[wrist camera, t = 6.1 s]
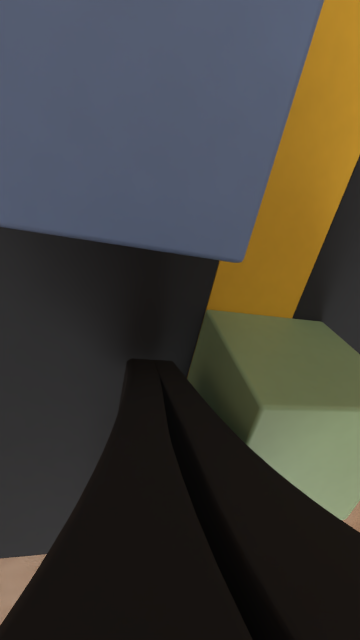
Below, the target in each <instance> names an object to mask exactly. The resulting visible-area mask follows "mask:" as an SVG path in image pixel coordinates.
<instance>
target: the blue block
mask: <svg viewBox="0 0 360 640" xmlns="http://www.w3.org/2000/svg"><path fill="white" fill-rule="evenodd" d="M323 3H324V0H0V227H4V228H10V229H17V230H23V231H30V232H37V233H43V234H50V235H56V236H63V237H69V238H76V239H82V240H89V241H95V242H102V243H109V244H115V245H122V246H128V247H135V248H141V249H148V250H154V251H161V252H167V253H174V254H181V255H187V256H194V257H200V258H207V259H213V260H220V261H226V262H233V263H239V262H242V261H243V259H244V257H245V254H246V250H247V247H248V244H249V241H250V238H251V234H252V231H253V228H254V225H255V222H256V218H257V215H258V212H259V209H260V205H261V202H262V199H263V196H264V193H265V189H266V186H267V183H268V180H269V176H270V173H271V170H272V167H273V164H274V160H275V157H276V154H277V151H278V147H279V144H280V141H281V138H282V135H283V131H284V128H285V125H286V122H287V119H288V115H289V112H290V109H291V106H292V102H293V99H294V96H295V93H296V90H297V86H298V83H299V80H300V77H301V73H302V70H303V67H304V64H305V61H306V57H307V54H308V51H309V48H310V44H311V41H312V38H313V35H314V32H315V28H316V25H317V22H318V19H319V15H320V12H321V9H322V6H323Z"/></svg>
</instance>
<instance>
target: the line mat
mask: <svg viewBox="0 0 360 640" xmlns="http://www.w3.org/2000/svg"><path fill="white" fill-rule="evenodd" d="M206 310H216V311H226V312H235V313H245V314H254V315H264V316H273V317H283V318H292V319H301V320H311V321H320V322H323V323H324V324H325V325H327V326H328V327H329V328H330V329H331V330H332V331H333V332H335V333H336V334H337V335H338V336H339V337H340V338H342V339H343V340H344V341H345V342H346V343H347V344H348V345H350V346H351V347H352V348H353V349H354V350H355V351H357V352H358V353H359V354H360V0H324V3H323V6H322V9H321V12H320V15H319V19H318V22H317V25H316V28H315V32H314V35H313V38H312V41H311V44H310V48H309V51H308V54H307V57H306V61H305V64H304V67H303V70H302V73H301V77H300V80H299V83H298V86H297V90H296V93H295V96H294V99H293V102H292V106H291V109H290V112H289V115H288V119H287V122H286V125H285V128H284V131H283V135H282V138H281V141H280V144H279V147H278V151H277V154H276V157H275V160H274V164H273V167H272V170H271V173H270V176H269V180H268V183H267V186H266V189H265V193H264V196H263V199H262V202H261V205H260V209H259V212H258V215H257V218H256V222H255V225H254V228H253V231H252V234H251V238H250V241H249V244H248V247H247V250H246V254H245V257H244V259H243V261H242V262H239V263H233V262H226V261H220V260H213V259H207V258H200V257H194V256H187V255H181V254H174V253H167V252H161V251H154V250H148V249H141V248H135V247H128V246H122V245H115V244H109V243H102V242H95V241H89V240H82V239H76V238H69V237H63V236H56V235H50V234H43V233H37V232H30V231H23V230H17V229H10V228H4V227H0V558H9V557H20V556H31V555H41V554H47V553H48V552H49V550H50V548H51V547H52V545H53V543H54V542H55V540H56V538H57V537H58V535H59V533H60V532H61V530H62V528H63V527H64V525H65V523H66V522H67V520H68V518H69V517H70V515H71V513H72V511H73V509H74V508H75V506H76V504H77V502H78V500H79V499H80V497H81V495H82V493H83V491H84V489H85V487H86V485H87V483H88V481H89V479H90V477H91V476H92V474H93V472H94V470H95V467H96V465H97V463H98V461H99V459H100V457H101V455H102V452H103V450H104V448H105V446H106V443H107V441H108V439H109V436H110V434H111V431H112V428H113V426H114V423H115V420H116V418H117V415H118V410H119V404H120V398H121V392H122V386H123V380H124V374H125V368H126V362H127V361H128V360H130V359H131V358H134V359H150V360H167V361H173V362H174V363H175V364H176V366H177V367H178V368H179V369H180V371H181V372H182V373H183V374H184V376H185V377H186V378H188V374H189V371H190V367H191V363H192V360H193V356H194V352H195V349H196V345H197V341H198V338H199V334H200V331H201V327H202V323H203V320H204V316H205V312H206Z"/></svg>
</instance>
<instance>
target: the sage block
mask: <svg viewBox="0 0 360 640" xmlns="http://www.w3.org/2000/svg"><path fill="white" fill-rule="evenodd" d="M187 379H188V381H189V382H190V383H191V384H192V386H193V387H194V388H195V389H196V391H197V392H198V393H199V394H200V395H201V397H202V398H203V399H204V400H205V401H206V402H207V404H208V405H209V406H210V407H211V408H212V409H213V410H214V412H215V413H216V414H217V415H218V416H219V417H220V418H221V419H222V420H223V421H224V422H225V423H226V424H227V425H228V426H229V428H230V429H231V430H232V431H233V432H234V433H235V434H236V435H237V436H238V437H239V438H240V439H241V440H242V441H243V442H244V443H245V444H246V445H248V446H249V447H250V448H251V449H252V450H253V451H254V452H255V453H256V454H257V455H258V456H260V457H261V458H262V459H263V460H264V461H265V462H266V463H268V464H269V465H270V466H271V467H272V468H273V469H274V470H276V471H277V472H278V473H279V474H280V475H282V476H283V477H284V478H285V479H286V480H288V481H289V482H290V483H292V484H293V485H294V486H295V487H297V488H298V489H299V490H301V491H302V492H303V493H304V494H306V495H307V496H308V497H310V498H311V499H312V500H314V501H315V502H316V503H318V504H319V505H320V506H322V507H323V508H325V509H326V510H327V511H329V512H330V513H332V514H333V515H334V516H336V517H337V518H339V519H340V520H345V519H346V518H347V517H348V516H349V515H350V513H351V512H352V510H353V509H354V508H355V506H356V505H357V504H358V502H359V501H360V354H359V353H358V352H357V351H355V350H354V349H353V348H352V347H351V346H350V345H348V344H347V343H346V342H345V341H344V340H343V339H342V338H340V337H339V336H338V335H337V334H336V333H335V332H333V331H332V330H331V329H330V328H329V327H328V326H327V325H325V324H324V323H323V322H320V321H311V320H301V319H292V318H283V317H273V316H264V315H254V314H245V313H235V312H226V311H216V310H206V312H205V316H204V320H203V323H202V327H201V331H200V334H199V338H198V341H197V345H196V349H195V352H194V356H193V360H192V363H191V367H190V371H189V374H188V378H187Z"/></svg>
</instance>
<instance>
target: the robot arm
mask: <svg viewBox="0 0 360 640" xmlns="http://www.w3.org/2000/svg"><path fill="white" fill-rule="evenodd" d="M0 640H360V533H359V532H358V531H356V530H355V529H353V528H352V527H351V526H349V525H348V524H346V523H345V522H343V521H342V520H340V519H339V518H337V517H336V516H334V515H333V514H332V513H330V512H329V511H327V510H326V509H325V508H323V507H322V506H320V505H319V504H318V503H316V502H315V501H314V500H312V499H311V498H310V497H308V496H307V495H306V494H304V493H303V492H302V491H301V490H299V489H298V488H297V487H295V486H294V485H293V484H292V483H290V482H289V481H288V480H286V479H285V478H284V477H283V476H282V475H280V474H279V473H278V472H277V471H276V470H274V469H273V468H272V467H271V466H270V465H269V464H268V463H266V462H265V461H264V460H263V459H262V458H261V457H260V456H258V455H257V454H256V453H255V452H254V451H253V450H252V449H251V448H250V447H249V446H248V445H246V444H245V443H244V442H243V441H242V440H241V439H240V438H239V437H238V436H237V435H236V434H235V433H234V432H233V431H232V430H231V429H230V428H229V426H228V425H227V424H226V423H225V422H224V421H223V420H222V419H221V418H220V417H219V416H218V415H217V414H216V413H215V412H214V410H213V409H212V408H211V407H210V406H209V405H208V404H207V402H206V401H205V400H204V399H203V398H202V397H201V395H200V394H199V393H198V392H197V391H196V389H195V388H194V387H193V386H192V384H191V383H190V382H189V381H188V379H187V378H186V377H185V376H184V374H183V373H182V372H181V371H180V369H179V368H178V367H177V366H176V364H175V363H174V362H173V361H167V360H150V359H134V358H131V359H130V360H128V361H127V362H126V368H125V374H124V380H123V386H122V392H121V398H120V404H119V410H118V415H117V418H116V420H115V423H114V426H113V428H112V431H111V434H110V436H109V439H108V441H107V443H106V446H105V448H104V450H103V452H102V455H101V457H100V459H99V461H98V463H97V465H96V467H95V470H94V472H93V474H92V476H91V477H90V479H89V481H88V483H87V485H86V487H85V489H84V491H83V493H82V495H81V497H80V499H79V500H78V502H77V504H76V506H75V508H74V509H73V511H72V513H71V515H70V517H69V518H68V520H67V522H66V523H65V525H64V527H63V528H62V530H61V532H60V533H59V535H58V537H57V538H56V540H55V542H54V543H53V545H52V547H51V548H50V550H49V552H48V553H47V555H46V557H45V558H44V560H43V561H42V563H41V565H40V566H39V568H38V570H37V571H36V573H35V574H34V576H33V577H32V579H31V581H30V582H29V584H28V585H27V587H26V588H25V590H24V591H23V593H22V594H21V596H20V597H19V599H18V600H17V602H16V603H15V605H14V606H13V607H12V609H11V610H10V612H9V613H8V615H7V616H6V618H5V619H4V621H3V622H2V624H1V625H0Z"/></svg>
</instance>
